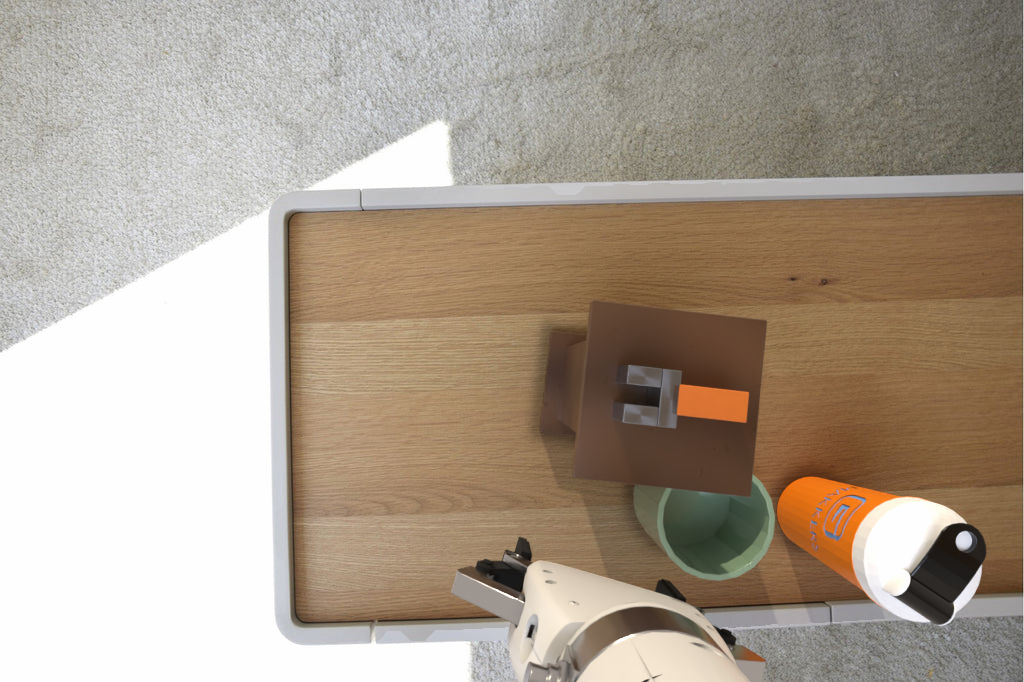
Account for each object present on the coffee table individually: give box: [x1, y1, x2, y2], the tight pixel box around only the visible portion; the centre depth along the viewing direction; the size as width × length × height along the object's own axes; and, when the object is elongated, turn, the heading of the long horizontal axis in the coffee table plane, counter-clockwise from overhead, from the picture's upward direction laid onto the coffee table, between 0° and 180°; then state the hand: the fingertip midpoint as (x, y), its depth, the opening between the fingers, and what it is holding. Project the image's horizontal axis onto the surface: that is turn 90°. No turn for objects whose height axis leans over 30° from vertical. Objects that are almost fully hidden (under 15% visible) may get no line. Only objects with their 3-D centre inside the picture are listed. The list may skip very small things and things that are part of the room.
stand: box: [538, 299, 768, 497], centre depth 51 cm, size 10×10×29 cm
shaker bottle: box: [776, 476, 988, 627], centre depth 56 cm, size 9×9×20 cm
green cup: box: [632, 474, 776, 582], centre depth 60 cm, size 10×10×10 cm
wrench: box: [612, 365, 749, 429], centre depth 35 cm, size 6×3×3 cm, turn 84°
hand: (587, 581), depth 43 cm, fingers open, 9 cm apart
